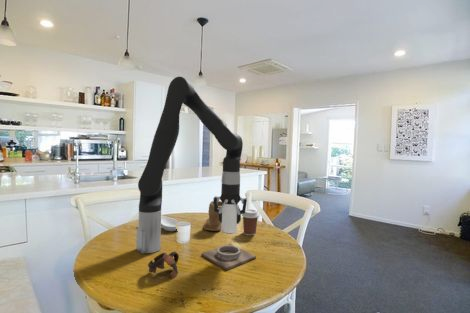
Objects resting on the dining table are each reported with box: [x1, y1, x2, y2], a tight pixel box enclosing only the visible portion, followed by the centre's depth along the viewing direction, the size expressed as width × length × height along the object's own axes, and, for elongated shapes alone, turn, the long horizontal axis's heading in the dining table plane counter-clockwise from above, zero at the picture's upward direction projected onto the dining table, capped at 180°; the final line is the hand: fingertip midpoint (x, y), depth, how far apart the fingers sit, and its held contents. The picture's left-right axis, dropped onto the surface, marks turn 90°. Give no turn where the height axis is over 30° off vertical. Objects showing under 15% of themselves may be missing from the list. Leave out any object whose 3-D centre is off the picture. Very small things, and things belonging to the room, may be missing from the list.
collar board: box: [201, 243, 257, 271], centre depth 105 cm, size 16×16×3 cm
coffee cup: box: [241, 208, 260, 236], centre depth 133 cm, size 9×9×12 cm
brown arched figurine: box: [147, 251, 179, 280], centre depth 91 cm, size 12×10×8 cm
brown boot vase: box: [203, 200, 223, 232], centre depth 140 cm, size 15×12×15 cm
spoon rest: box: [161, 214, 183, 232], centre depth 138 cm, size 24×12×7 cm, turn 74°
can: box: [221, 203, 238, 235], centre depth 104 cm, size 6×6×12 cm
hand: (229, 222), depth 105 cm, fingers closed on can, 6 cm apart
